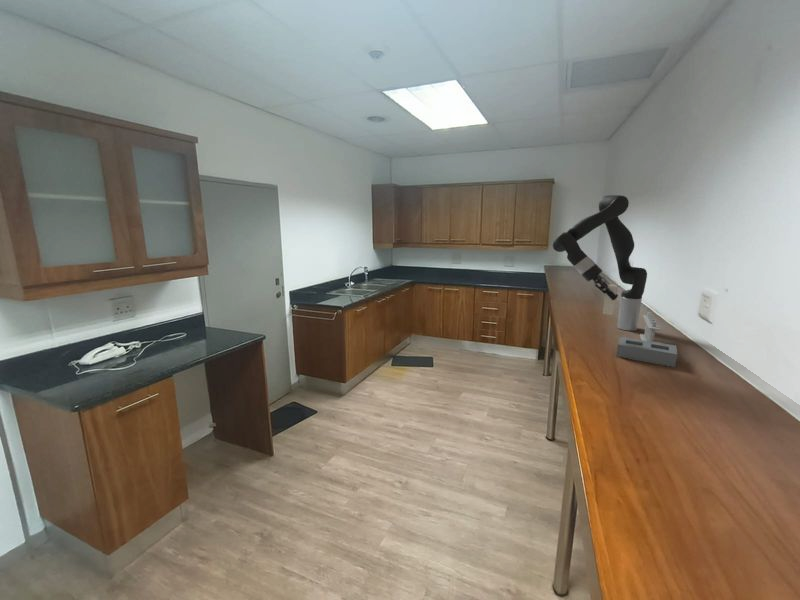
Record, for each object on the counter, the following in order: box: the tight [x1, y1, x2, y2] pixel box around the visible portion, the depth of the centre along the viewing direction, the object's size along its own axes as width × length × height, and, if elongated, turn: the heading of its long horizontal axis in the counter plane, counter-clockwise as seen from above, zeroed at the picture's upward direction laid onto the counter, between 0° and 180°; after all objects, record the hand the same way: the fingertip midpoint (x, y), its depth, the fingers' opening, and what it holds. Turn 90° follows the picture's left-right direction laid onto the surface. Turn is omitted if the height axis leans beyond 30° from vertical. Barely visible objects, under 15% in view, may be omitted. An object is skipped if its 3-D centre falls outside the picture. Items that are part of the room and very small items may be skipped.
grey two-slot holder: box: [615, 336, 678, 368], centre depth 147 cm, size 12×20×6 cm, turn 53°
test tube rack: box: [639, 311, 661, 342], centre depth 163 cm, size 25×4×13 cm, turn 150°
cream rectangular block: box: [602, 284, 618, 316], centre depth 154 cm, size 3×4×13 cm
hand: (615, 298), depth 153 cm, fingers closed on cream rectangular block, 3 cm apart
